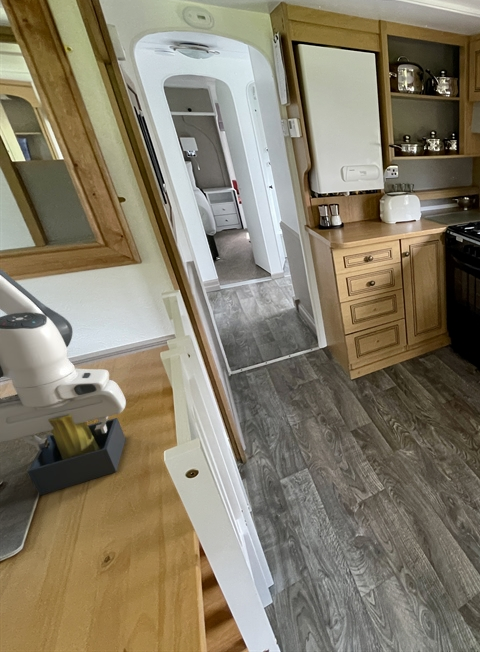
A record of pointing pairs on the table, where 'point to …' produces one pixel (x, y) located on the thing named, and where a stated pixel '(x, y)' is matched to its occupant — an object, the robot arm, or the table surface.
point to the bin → (77, 461)
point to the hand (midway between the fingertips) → (74, 440)
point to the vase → (72, 437)
